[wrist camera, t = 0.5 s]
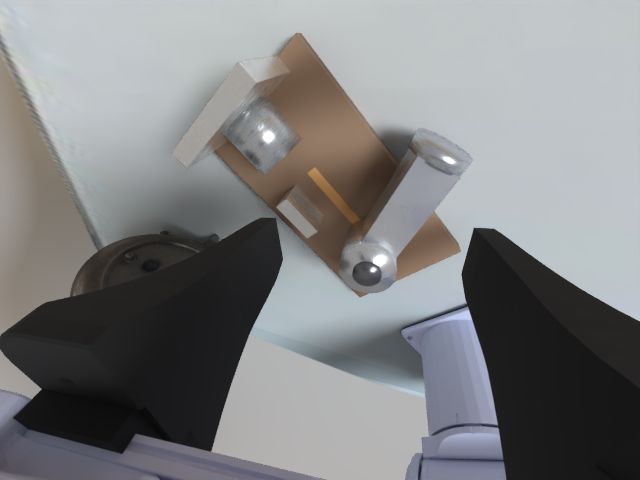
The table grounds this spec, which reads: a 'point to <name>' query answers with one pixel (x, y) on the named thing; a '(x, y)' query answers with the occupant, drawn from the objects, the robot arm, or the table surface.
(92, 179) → the table surface
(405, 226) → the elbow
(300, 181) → the board
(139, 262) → the alarm clock
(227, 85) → the square plate with knob
